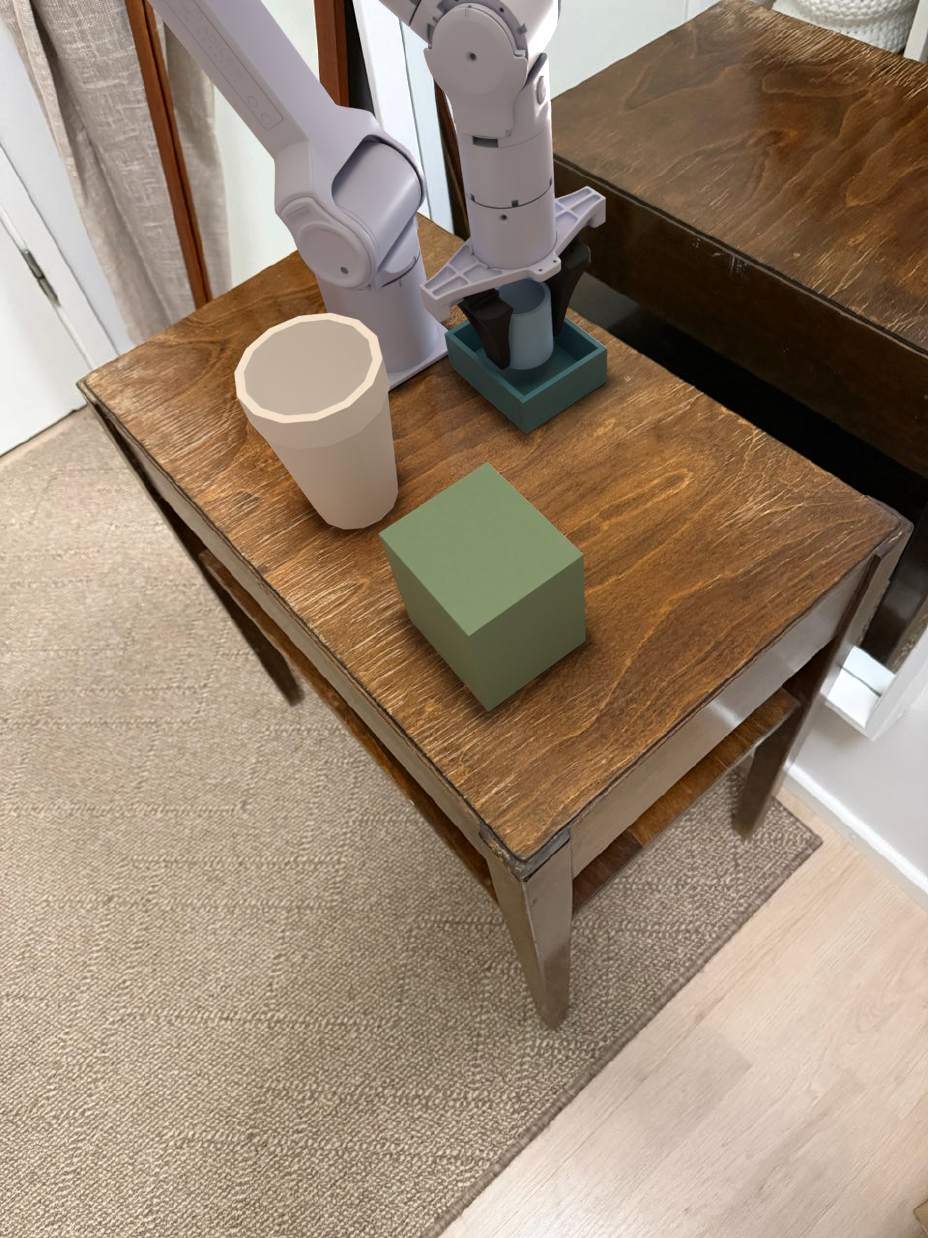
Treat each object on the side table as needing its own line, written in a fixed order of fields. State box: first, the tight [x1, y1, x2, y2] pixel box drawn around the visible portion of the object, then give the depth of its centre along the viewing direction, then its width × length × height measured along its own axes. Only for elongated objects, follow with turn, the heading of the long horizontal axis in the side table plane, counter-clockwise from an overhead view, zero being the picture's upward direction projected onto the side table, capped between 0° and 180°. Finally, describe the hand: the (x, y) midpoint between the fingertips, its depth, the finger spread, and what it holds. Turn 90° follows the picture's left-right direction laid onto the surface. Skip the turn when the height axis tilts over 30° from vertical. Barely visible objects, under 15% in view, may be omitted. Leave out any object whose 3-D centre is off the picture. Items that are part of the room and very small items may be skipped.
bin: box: [444, 315, 608, 435], centre depth 68 cm, size 10×8×3 cm
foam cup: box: [234, 312, 399, 530], centre depth 60 cm, size 10×9×13 cm
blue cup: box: [495, 277, 553, 370], centre depth 65 cm, size 4×4×5 cm
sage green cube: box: [378, 461, 587, 713], centre depth 54 cm, size 9×8×10 cm
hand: (523, 344), depth 67 cm, fingers closed on blue cup, 4 cm apart
